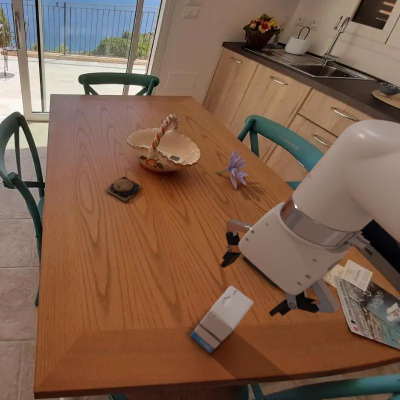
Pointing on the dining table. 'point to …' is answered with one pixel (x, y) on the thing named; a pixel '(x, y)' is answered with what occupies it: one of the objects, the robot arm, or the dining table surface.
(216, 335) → the ink box
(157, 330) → the dining table surface
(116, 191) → the square push button
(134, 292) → the dining table surface
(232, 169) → the water lily
